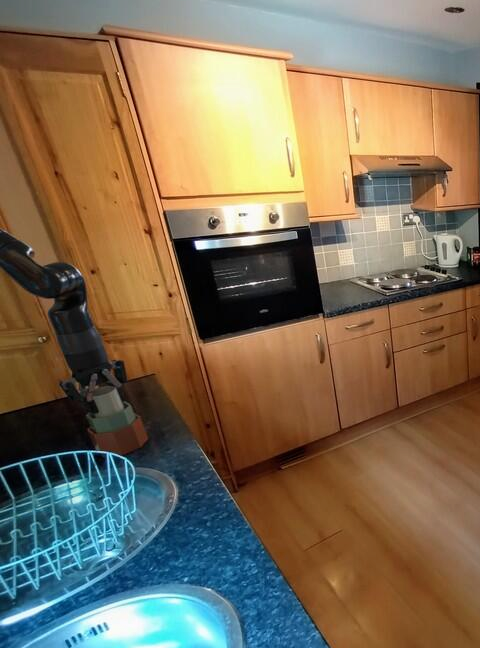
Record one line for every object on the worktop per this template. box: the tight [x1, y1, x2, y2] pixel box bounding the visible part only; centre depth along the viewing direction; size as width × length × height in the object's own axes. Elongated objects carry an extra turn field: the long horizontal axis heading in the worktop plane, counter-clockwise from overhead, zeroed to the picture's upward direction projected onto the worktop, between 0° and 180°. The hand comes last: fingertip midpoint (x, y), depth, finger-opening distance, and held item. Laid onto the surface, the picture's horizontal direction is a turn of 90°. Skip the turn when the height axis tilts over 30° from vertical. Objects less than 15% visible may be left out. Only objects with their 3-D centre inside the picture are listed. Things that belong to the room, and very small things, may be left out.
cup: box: [92, 386, 125, 418], centre depth 116 cm, size 6×6×9 cm
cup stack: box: [85, 400, 149, 458], centre depth 118 cm, size 10×10×11 cm
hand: (107, 406), depth 116 cm, fingers closed on cup, 5 cm apart
